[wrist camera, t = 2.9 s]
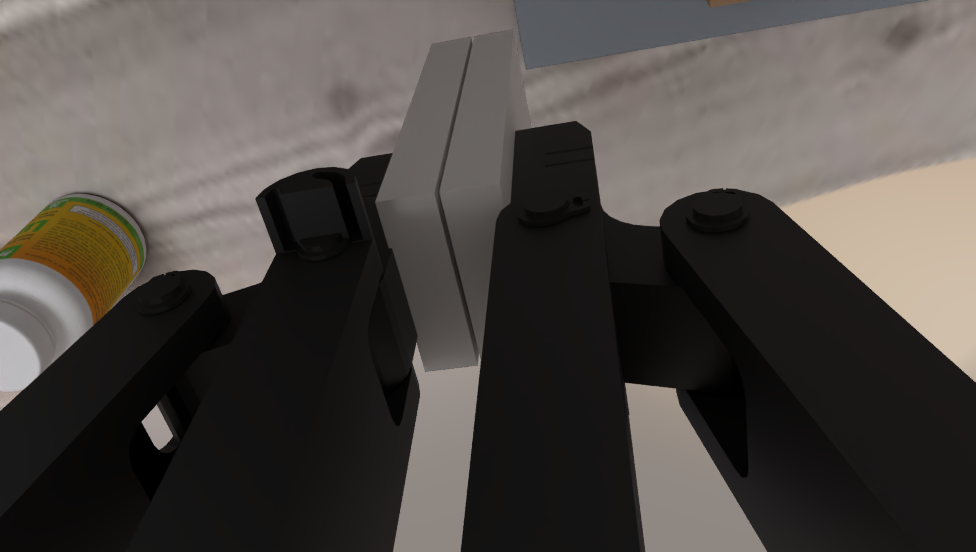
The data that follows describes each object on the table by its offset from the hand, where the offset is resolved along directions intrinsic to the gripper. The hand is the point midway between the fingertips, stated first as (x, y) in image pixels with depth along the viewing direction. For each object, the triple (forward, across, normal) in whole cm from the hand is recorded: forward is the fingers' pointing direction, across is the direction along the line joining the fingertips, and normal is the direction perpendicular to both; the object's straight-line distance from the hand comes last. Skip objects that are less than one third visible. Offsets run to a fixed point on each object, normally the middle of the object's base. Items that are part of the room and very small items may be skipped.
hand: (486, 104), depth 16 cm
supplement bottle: (+21, -24, -11) cm, 33 cm away
